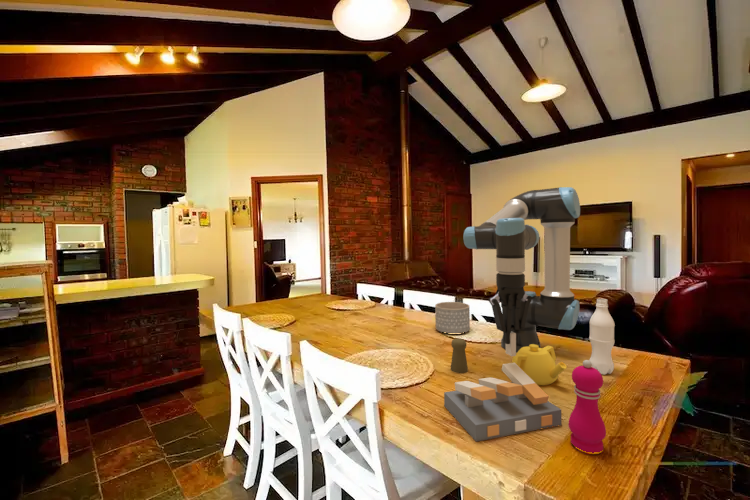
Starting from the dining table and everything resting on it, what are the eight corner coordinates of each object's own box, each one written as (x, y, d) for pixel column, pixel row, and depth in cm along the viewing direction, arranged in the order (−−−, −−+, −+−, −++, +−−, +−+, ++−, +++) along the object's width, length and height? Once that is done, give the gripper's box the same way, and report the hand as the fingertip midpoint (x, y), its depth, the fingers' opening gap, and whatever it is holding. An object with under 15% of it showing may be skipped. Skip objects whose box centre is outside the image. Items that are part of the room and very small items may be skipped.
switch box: (517, 394, 102) (517, 373, 102) (562, 425, 86) (562, 400, 85) (444, 406, 97) (444, 383, 96) (476, 442, 80) (476, 415, 79)
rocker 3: (513, 368, 100) (514, 362, 99) (547, 402, 87) (548, 396, 86) (501, 370, 99) (502, 364, 98) (533, 404, 86) (535, 398, 85)
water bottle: (611, 369, 118) (612, 298, 117) (616, 377, 112) (617, 302, 110) (587, 366, 121) (588, 296, 120) (590, 374, 115) (591, 300, 113)
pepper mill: (561, 437, 81) (561, 355, 80) (590, 435, 81) (590, 353, 80) (582, 458, 73) (583, 367, 72) (613, 455, 74) (615, 365, 73)
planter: (435, 335, 161) (435, 308, 161) (435, 325, 178) (435, 301, 177) (471, 336, 159) (471, 309, 158) (467, 326, 175) (467, 302, 174)
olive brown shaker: (468, 373, 118) (468, 342, 117) (450, 372, 119) (450, 341, 118) (467, 366, 124) (467, 337, 123) (450, 365, 125) (449, 336, 124)
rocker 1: (468, 388, 96) (467, 380, 96) (496, 398, 83) (495, 389, 83) (455, 390, 95) (454, 382, 95) (481, 400, 82) (480, 391, 82)
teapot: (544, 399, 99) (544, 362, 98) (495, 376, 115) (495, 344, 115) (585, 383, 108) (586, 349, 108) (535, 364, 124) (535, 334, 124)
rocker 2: (492, 384, 98) (490, 377, 98) (523, 393, 84) (521, 385, 85) (479, 386, 97) (478, 379, 97) (509, 396, 83) (507, 387, 84)
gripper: (521, 270, 101) (521, 347, 103) (482, 272, 98) (483, 352, 100) (539, 272, 94) (539, 356, 95) (497, 275, 91) (498, 361, 92)
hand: (510, 354), depth 98 cm, fingers closed
